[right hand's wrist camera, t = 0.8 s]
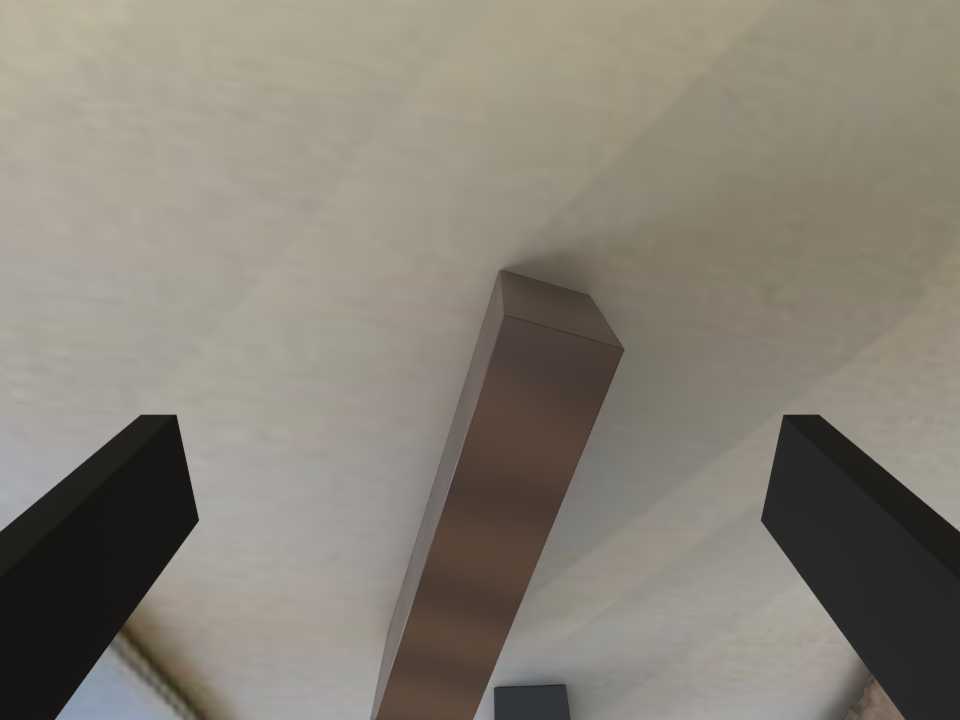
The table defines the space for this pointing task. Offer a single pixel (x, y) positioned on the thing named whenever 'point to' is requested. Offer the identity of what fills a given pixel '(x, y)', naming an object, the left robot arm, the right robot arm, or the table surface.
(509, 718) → the block
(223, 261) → the table surface
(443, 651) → the bar
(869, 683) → the stone
